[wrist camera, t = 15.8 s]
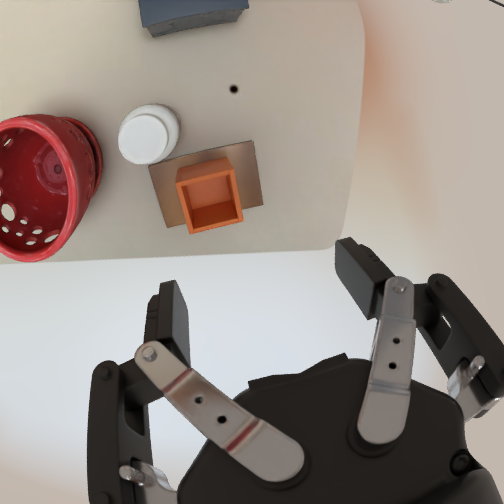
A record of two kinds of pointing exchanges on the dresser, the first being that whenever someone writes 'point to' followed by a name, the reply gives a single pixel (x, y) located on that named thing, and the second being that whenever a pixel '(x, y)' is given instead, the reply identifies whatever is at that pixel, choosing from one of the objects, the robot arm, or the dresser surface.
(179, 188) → the orange tub
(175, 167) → the cork mat
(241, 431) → the robot arm
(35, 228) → the flower pot
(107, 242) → the dresser surface
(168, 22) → the blue tin
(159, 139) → the pill bottle
